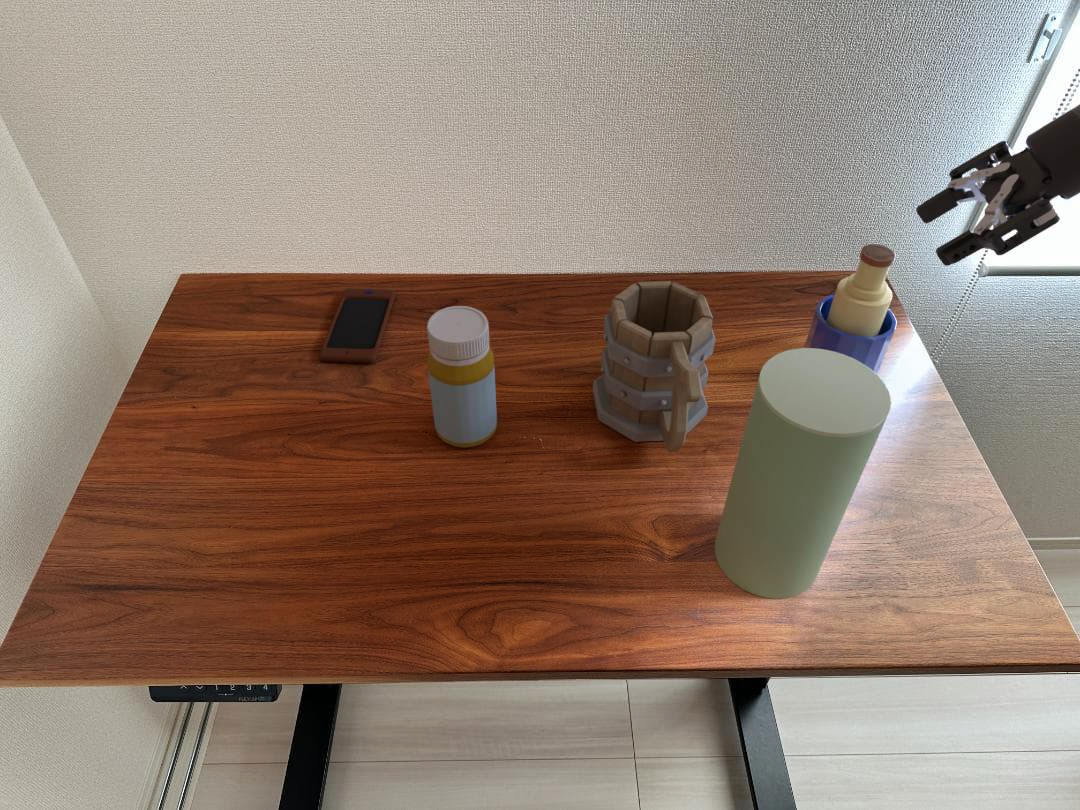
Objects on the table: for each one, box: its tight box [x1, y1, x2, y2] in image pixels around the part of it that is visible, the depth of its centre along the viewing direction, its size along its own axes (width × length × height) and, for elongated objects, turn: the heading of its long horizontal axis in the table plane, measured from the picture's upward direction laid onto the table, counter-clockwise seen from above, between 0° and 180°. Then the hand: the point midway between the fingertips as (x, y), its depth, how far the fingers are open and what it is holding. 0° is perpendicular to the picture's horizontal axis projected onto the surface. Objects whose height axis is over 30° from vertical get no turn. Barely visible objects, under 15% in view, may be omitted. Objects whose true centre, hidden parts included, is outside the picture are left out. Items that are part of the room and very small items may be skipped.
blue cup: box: [803, 294, 898, 375], centre depth 93 cm, size 9×9×8 cm
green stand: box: [714, 347, 892, 600], centre depth 68 cm, size 10×10×22 cm
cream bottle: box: [826, 243, 897, 337], centre depth 90 cm, size 6×6×16 cm
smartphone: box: [318, 288, 397, 364], centre depth 101 cm, size 7×1×15 cm
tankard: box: [592, 280, 716, 453], centre depth 83 cm, size 20×13×15 cm, turn 4°
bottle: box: [426, 305, 498, 449], centre depth 83 cm, size 7×7×15 cm
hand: (929, 237), depth 83 cm, fingers open, 8 cm apart
